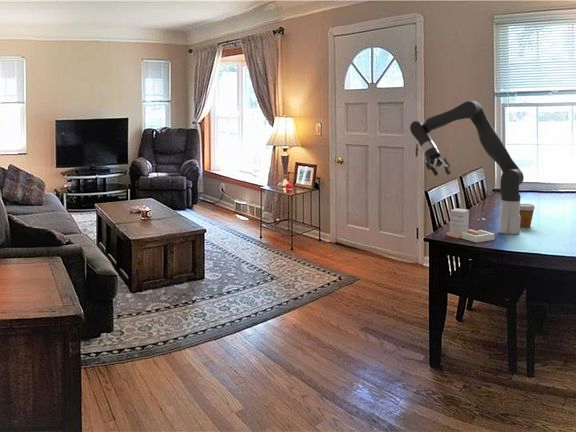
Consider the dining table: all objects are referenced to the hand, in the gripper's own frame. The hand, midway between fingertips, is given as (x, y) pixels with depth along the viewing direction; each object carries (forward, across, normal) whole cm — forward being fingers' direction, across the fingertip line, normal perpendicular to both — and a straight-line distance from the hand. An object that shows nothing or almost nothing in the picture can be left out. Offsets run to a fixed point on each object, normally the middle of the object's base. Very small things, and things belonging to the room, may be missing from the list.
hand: (443, 174), depth 297 cm
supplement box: (+33, -2, +8) cm, 34 cm away
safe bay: (+42, -2, -2) cm, 42 cm away
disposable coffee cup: (+35, +41, +5) cm, 54 cm away
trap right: (+35, +5, +5) cm, 36 cm away
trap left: (+35, -8, +5) cm, 36 cm away
